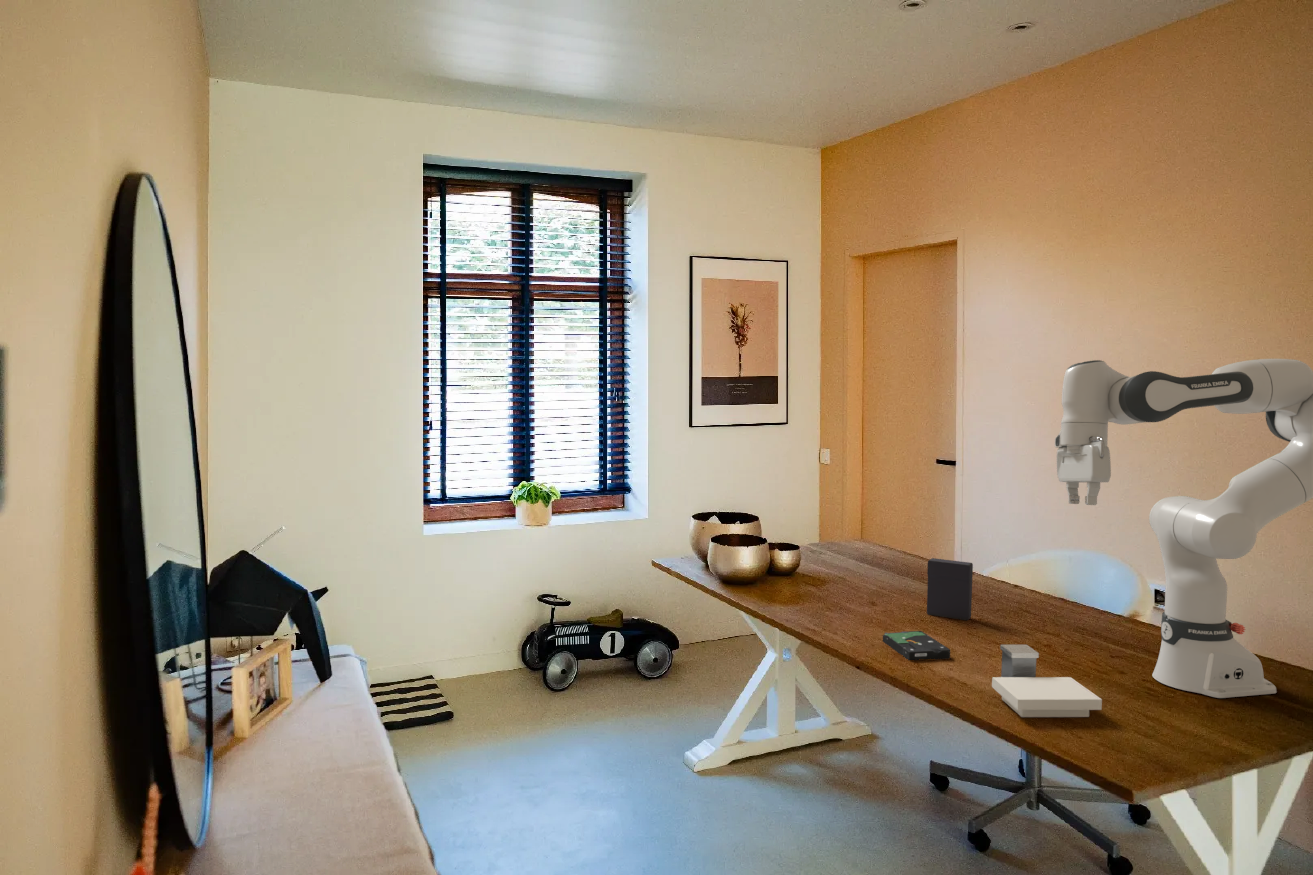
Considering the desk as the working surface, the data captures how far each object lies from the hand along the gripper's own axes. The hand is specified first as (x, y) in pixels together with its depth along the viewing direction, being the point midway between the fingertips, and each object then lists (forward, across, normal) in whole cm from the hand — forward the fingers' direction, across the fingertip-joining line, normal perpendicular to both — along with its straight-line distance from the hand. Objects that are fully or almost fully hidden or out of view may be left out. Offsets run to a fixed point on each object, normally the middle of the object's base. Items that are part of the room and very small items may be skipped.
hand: (1082, 504), depth 182 cm
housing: (+39, +2, +11) cm, 40 cm away
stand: (+40, -10, +10) cm, 42 cm away
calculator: (+32, +54, +14) cm, 64 cm away
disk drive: (+37, +24, +28) cm, 52 cm away
